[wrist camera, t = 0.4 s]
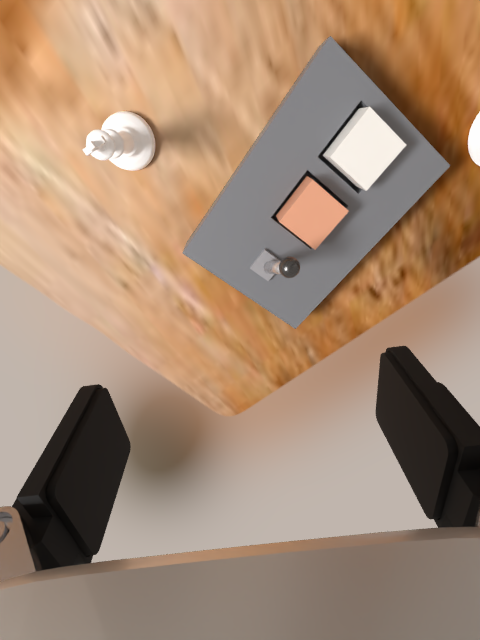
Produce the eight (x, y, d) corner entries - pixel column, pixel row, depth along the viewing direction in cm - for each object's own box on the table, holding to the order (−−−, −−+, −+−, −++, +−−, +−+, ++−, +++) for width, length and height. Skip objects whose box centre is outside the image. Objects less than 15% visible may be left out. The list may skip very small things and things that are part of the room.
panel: (319, 46, 28) (331, 34, 25) (430, 162, 33) (453, 166, 30) (186, 242, 36) (181, 254, 33) (290, 314, 41) (296, 330, 38)
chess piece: (166, 152, 32) (142, 160, 23) (125, 180, 33) (88, 198, 24) (132, 99, 30) (92, 86, 21) (90, 131, 31) (36, 131, 22)
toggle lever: (264, 254, 33) (291, 251, 27) (278, 264, 34) (307, 264, 28) (255, 269, 33) (279, 270, 27) (269, 280, 34) (296, 282, 28)
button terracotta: (306, 175, 30) (312, 179, 28) (340, 205, 32) (348, 211, 30) (276, 215, 32) (279, 221, 30) (309, 242, 34) (315, 250, 31)
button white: (359, 108, 28) (369, 106, 26) (393, 143, 29) (406, 144, 27) (322, 155, 30) (329, 157, 27) (356, 186, 31) (366, 191, 29)
